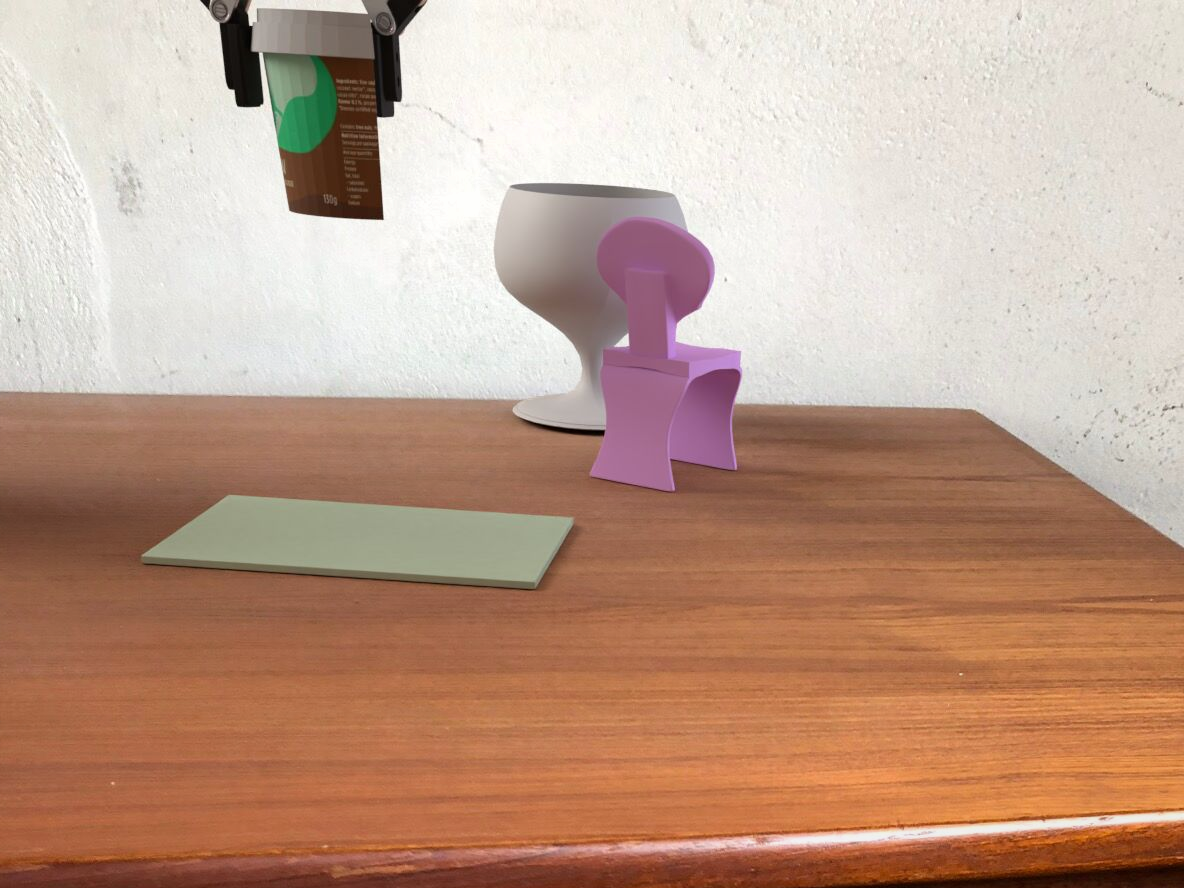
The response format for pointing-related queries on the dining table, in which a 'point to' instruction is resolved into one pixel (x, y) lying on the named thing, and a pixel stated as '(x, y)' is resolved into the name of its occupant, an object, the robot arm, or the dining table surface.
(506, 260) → the chalice
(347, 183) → the food container
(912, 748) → the dining table surface
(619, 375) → the toy chair
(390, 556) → the mat
